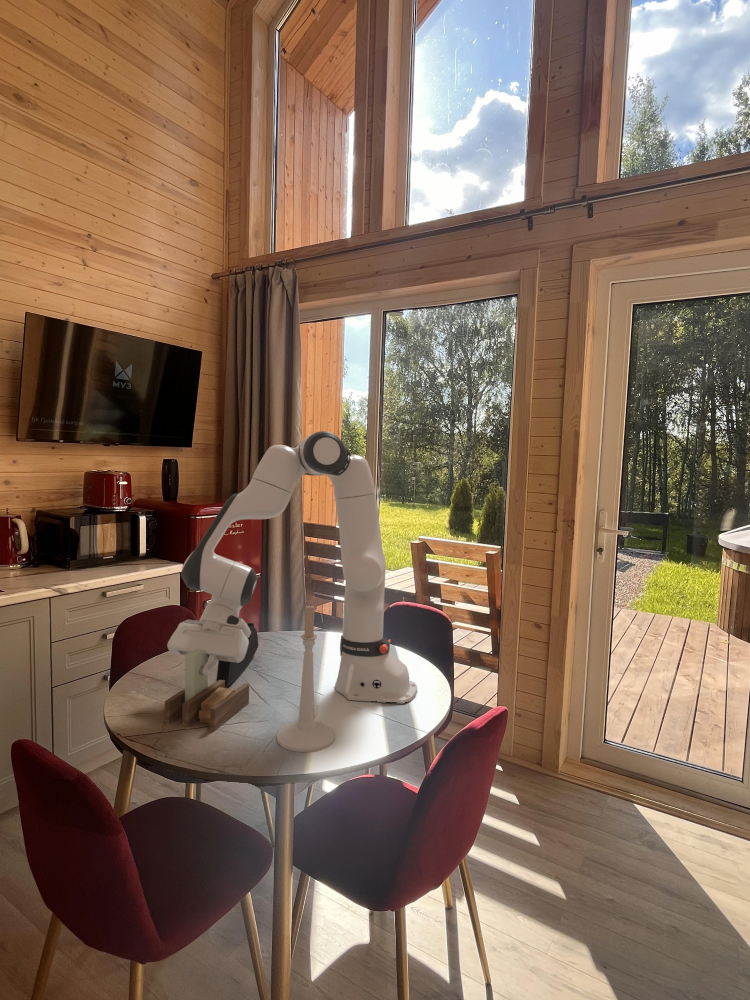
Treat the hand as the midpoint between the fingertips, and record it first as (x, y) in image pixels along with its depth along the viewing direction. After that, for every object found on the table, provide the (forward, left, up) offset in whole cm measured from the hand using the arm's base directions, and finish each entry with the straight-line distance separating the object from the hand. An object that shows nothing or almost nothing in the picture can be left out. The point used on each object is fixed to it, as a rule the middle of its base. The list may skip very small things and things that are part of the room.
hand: (195, 673), depth 138 cm
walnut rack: (-3, -1, -9) cm, 10 cm away
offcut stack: (-6, 0, -10) cm, 11 cm away
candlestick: (-30, +3, -10) cm, 32 cm away
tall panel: (0, -1, -9) cm, 9 cm away
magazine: (+4, -28, -10) cm, 30 cm away
